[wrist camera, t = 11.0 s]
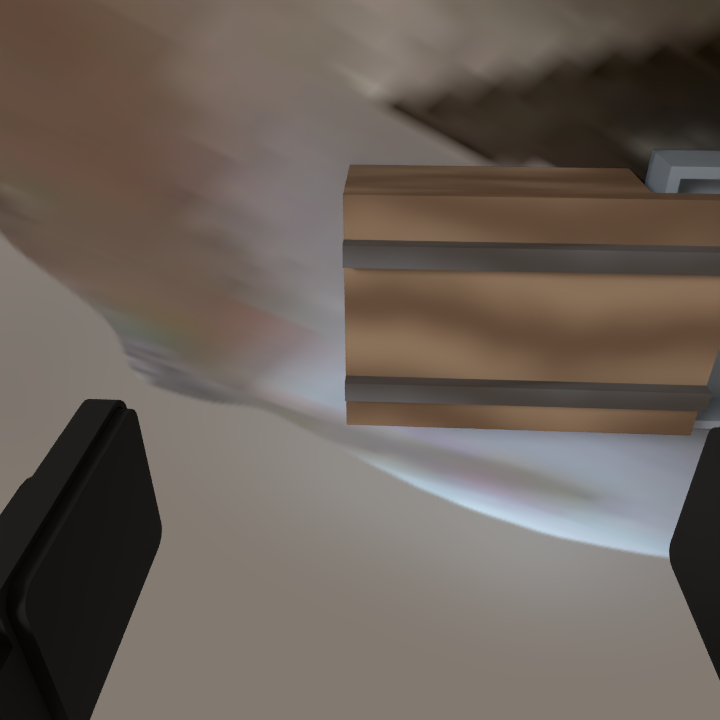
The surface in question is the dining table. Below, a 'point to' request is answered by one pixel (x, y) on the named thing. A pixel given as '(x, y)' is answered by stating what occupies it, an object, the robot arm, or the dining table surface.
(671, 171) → the tray
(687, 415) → the slot board
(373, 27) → the dining table surface
